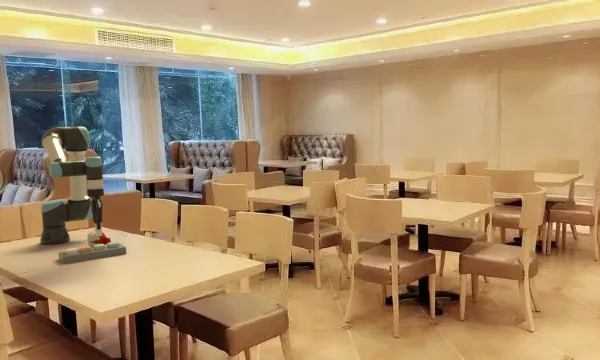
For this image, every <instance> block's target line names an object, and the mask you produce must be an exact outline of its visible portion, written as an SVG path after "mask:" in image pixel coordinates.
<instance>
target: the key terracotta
mask: <svg viewBox="0 0 600 360" xmlns="http://www.w3.org/2000/svg"><path fill="white" fill-rule="evenodd" d="M91 248H92V247H90V246H89V245H86V246H81V247H79V250H80V252H81V253H83V252H89V251H92V249H91Z"/></svg>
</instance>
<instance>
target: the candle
mask: <svg viewBox="0 0 600 360" xmlns="http://www.w3.org/2000/svg"><path fill="white" fill-rule="evenodd" d="M111 242H112V240H111V238H110V237H107V236H106V234H104V231H102V236H95V229H94V230H92V231H90V232H88V234H87V246H90V247H91V248H93V247H94V245H98V244H104V245H105V246H106V245H107V243H111Z"/></svg>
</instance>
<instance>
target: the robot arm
mask: <svg viewBox="0 0 600 360" xmlns="http://www.w3.org/2000/svg"><path fill="white" fill-rule="evenodd" d="M90 136H91V135H90V133H89V130H88V129H87V127H85V126H77V125H76V126H56V127H53V128H51V129H48V130H47V131H46V132H45V133H44V134H43V135H42V137H41V145H42V148H43V149H44V150H45V151H46V152H47V156H48V159H49V161H50V162H49V163H48V174H49V176H50V178H68V177H69V192H70V195H69V196H68V197H67V201H65V200H64V199H63V198H62V199H61V198H60V199H54V200H50V201H46V202H43V203H42V204H41V210H40V211H41V219H42V221H41V222H42V232H41V236H40V238H39V239H40V240H39V241H40V245H57V244H58V245H59V244H63V243H64V244H65V243H68V242H70V241H71V236H70V233H69V231H68V229H67V226H66V223H69V222H77V221H78V222H79V221H86V220H87V221H88V220H90V219H91V218H92V221H93V224H94V230H95V236H102V232H103V231H102V222H103V203H102V199H101V197H104V195H105V190H104V187H105V185H104V176H103V161H102V157H101V156H88V157H87V156H86V153H87V152H88V151H89V149H88V148H90V147H91V137H90ZM65 152H66V153H67V154H68V158H67V156H66V153H65Z"/></svg>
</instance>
